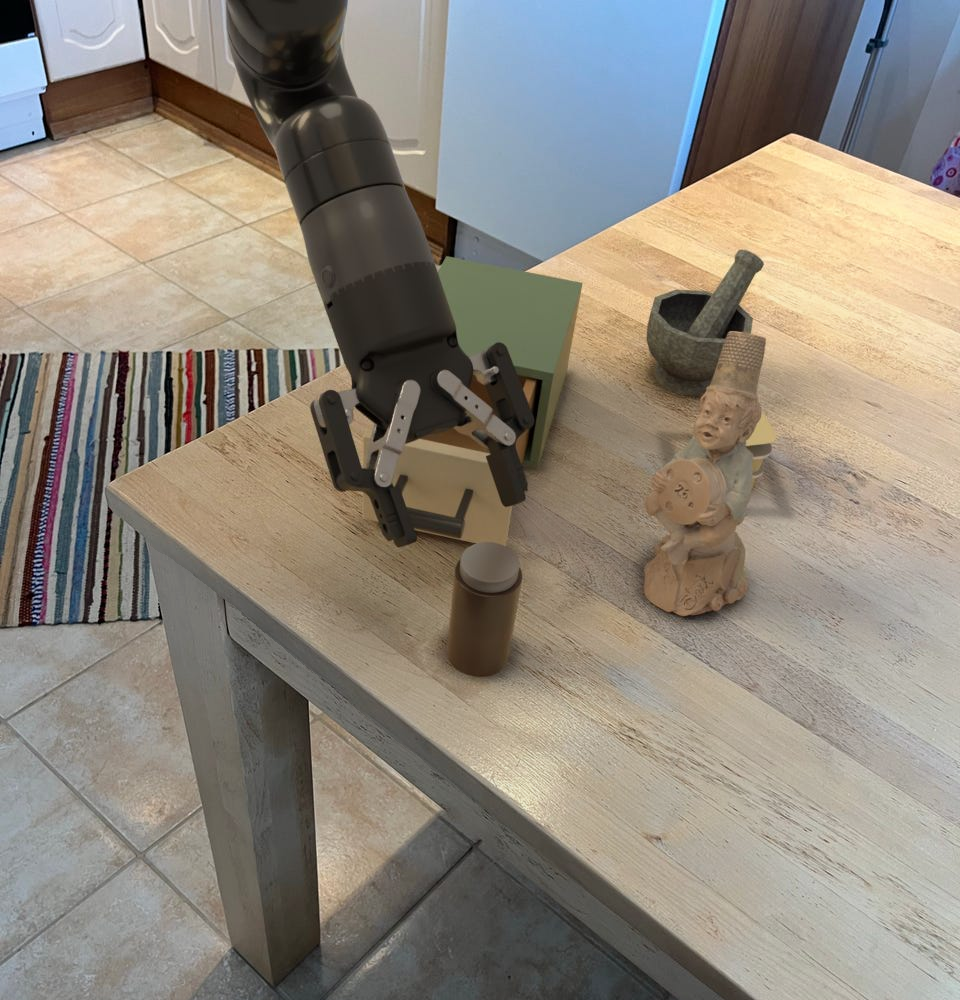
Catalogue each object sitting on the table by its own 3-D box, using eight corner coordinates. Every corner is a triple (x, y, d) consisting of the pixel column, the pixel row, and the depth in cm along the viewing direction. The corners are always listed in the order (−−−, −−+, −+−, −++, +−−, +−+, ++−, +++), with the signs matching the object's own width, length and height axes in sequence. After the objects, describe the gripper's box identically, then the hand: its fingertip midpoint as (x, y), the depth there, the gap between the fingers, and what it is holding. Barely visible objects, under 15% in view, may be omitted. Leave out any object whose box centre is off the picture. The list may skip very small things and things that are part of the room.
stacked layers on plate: (662, 438, 89) (677, 386, 85) (758, 444, 90) (777, 393, 86) (680, 509, 82) (697, 456, 78) (783, 515, 83) (805, 463, 79)
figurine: (676, 532, 80) (747, 307, 66) (762, 587, 77) (857, 362, 62) (608, 581, 76) (668, 350, 61) (697, 642, 72) (783, 412, 57)
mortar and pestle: (685, 418, 92) (720, 299, 83) (615, 370, 96) (641, 253, 87) (761, 383, 97) (801, 268, 88) (691, 340, 102) (723, 226, 93)
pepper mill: (439, 670, 68) (448, 576, 61) (454, 626, 71) (464, 532, 64) (501, 684, 68) (517, 592, 61) (513, 639, 71) (530, 546, 64)
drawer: (490, 592, 72) (502, 511, 67) (342, 559, 73) (341, 476, 68) (537, 443, 85) (550, 364, 80) (411, 416, 86) (414, 336, 81)
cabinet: (537, 470, 84) (553, 373, 77) (395, 440, 85) (399, 341, 78) (565, 376, 95) (582, 282, 88) (439, 350, 96) (446, 255, 89)
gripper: (447, 278, 68) (521, 500, 71) (258, 323, 62) (347, 564, 65) (498, 237, 62) (578, 483, 64) (292, 283, 56) (390, 553, 58)
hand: (462, 524), depth 64 cm, fingers open, 8 cm apart
